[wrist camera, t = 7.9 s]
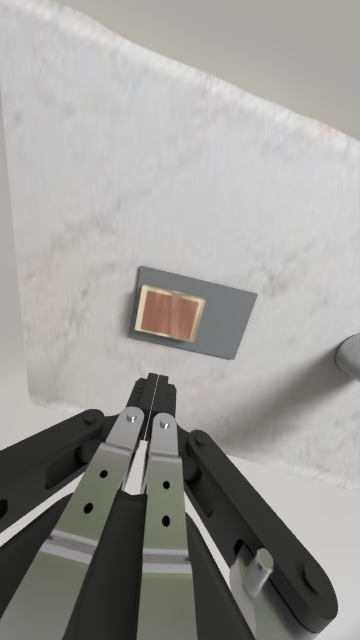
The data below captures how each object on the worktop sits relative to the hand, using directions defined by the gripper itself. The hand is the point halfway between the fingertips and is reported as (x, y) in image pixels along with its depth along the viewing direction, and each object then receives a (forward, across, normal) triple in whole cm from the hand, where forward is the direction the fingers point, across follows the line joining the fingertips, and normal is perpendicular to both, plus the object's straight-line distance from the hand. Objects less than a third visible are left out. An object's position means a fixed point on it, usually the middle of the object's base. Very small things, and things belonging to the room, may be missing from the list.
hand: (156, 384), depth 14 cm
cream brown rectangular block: (+21, -5, 0) cm, 21 cm away
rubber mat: (+22, -4, 0) cm, 23 cm away
